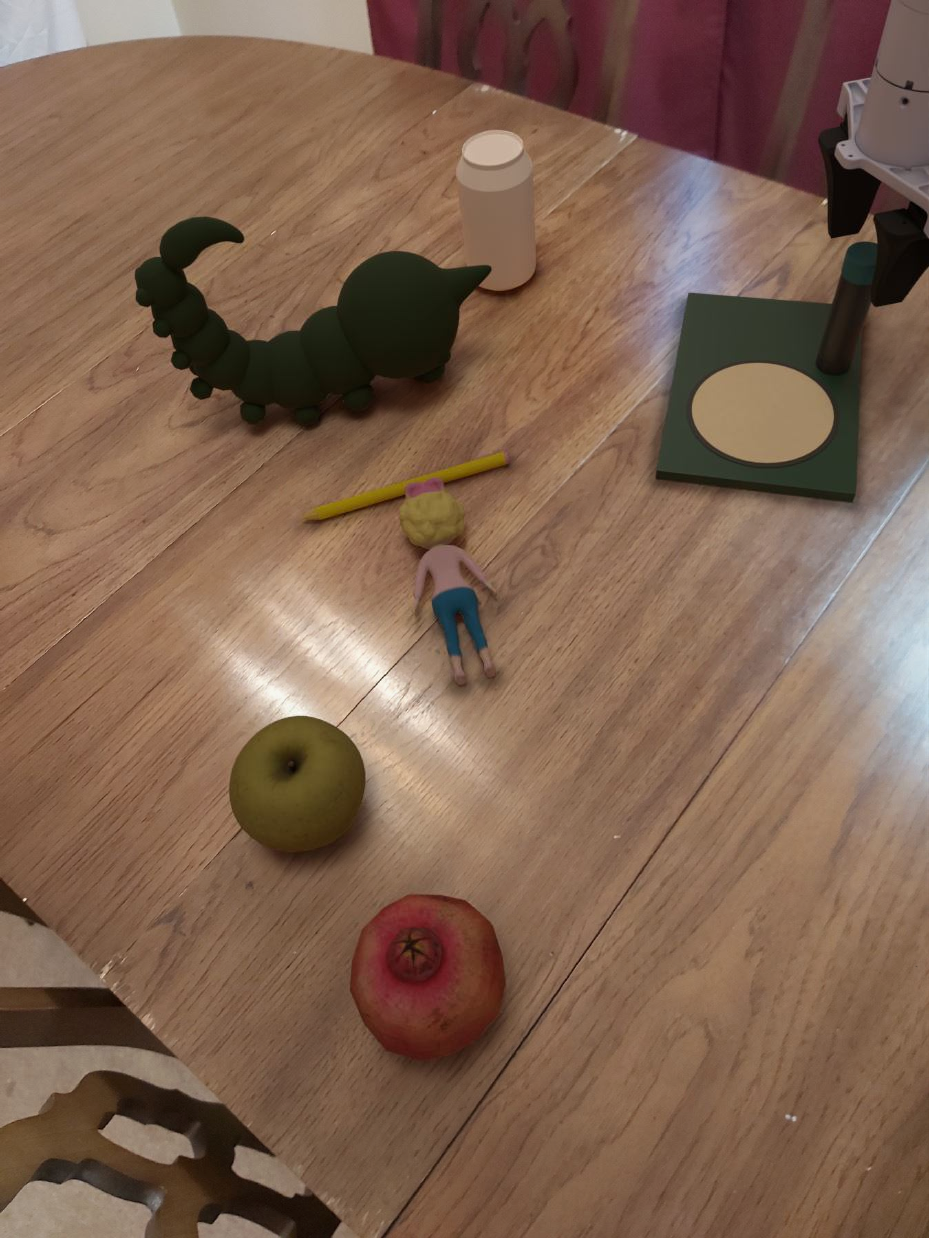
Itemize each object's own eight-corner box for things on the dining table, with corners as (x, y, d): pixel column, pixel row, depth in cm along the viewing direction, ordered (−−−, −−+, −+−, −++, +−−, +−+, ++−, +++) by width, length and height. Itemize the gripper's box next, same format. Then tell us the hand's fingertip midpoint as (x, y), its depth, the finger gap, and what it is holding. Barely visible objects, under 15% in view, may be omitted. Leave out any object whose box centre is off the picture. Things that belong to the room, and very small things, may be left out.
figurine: (520, 676, 63) (466, 502, 70) (518, 646, 59) (461, 465, 66) (434, 698, 62) (389, 521, 70) (426, 669, 58) (380, 485, 66)
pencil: (505, 457, 72) (504, 448, 71) (509, 466, 71) (508, 457, 70) (299, 518, 71) (295, 510, 70) (301, 528, 70) (298, 519, 69)
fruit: (350, 1056, 50) (307, 1025, 42) (382, 906, 54) (348, 851, 46) (498, 1082, 49) (483, 1056, 40) (519, 927, 53) (510, 874, 45)
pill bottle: (842, 349, 73) (878, 238, 65) (856, 372, 72) (894, 261, 63) (809, 355, 73) (840, 245, 65) (822, 378, 72) (855, 269, 63)
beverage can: (547, 285, 82) (544, 156, 72) (482, 306, 82) (469, 179, 72) (521, 245, 86) (514, 117, 76) (458, 265, 85) (443, 138, 75)
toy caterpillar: (227, 476, 76) (521, 388, 75) (110, 289, 60) (481, 174, 59) (219, 397, 81) (494, 314, 80) (109, 205, 65) (451, 98, 64)
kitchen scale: (687, 301, 79) (688, 291, 78) (859, 316, 77) (863, 304, 76) (655, 479, 69) (656, 469, 68) (852, 503, 67) (856, 492, 66)
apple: (399, 821, 57) (379, 776, 51) (284, 895, 55) (250, 857, 49) (340, 730, 61) (315, 677, 55) (231, 796, 59) (193, 750, 53)
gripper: (812, 19, 58) (772, 215, 69) (912, 148, 50) (848, 346, 61) (924, -2, 58) (865, 198, 69) (1041, 123, 50) (953, 325, 61)
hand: (864, 266), depth 65 cm, fingers open, 7 cm apart
